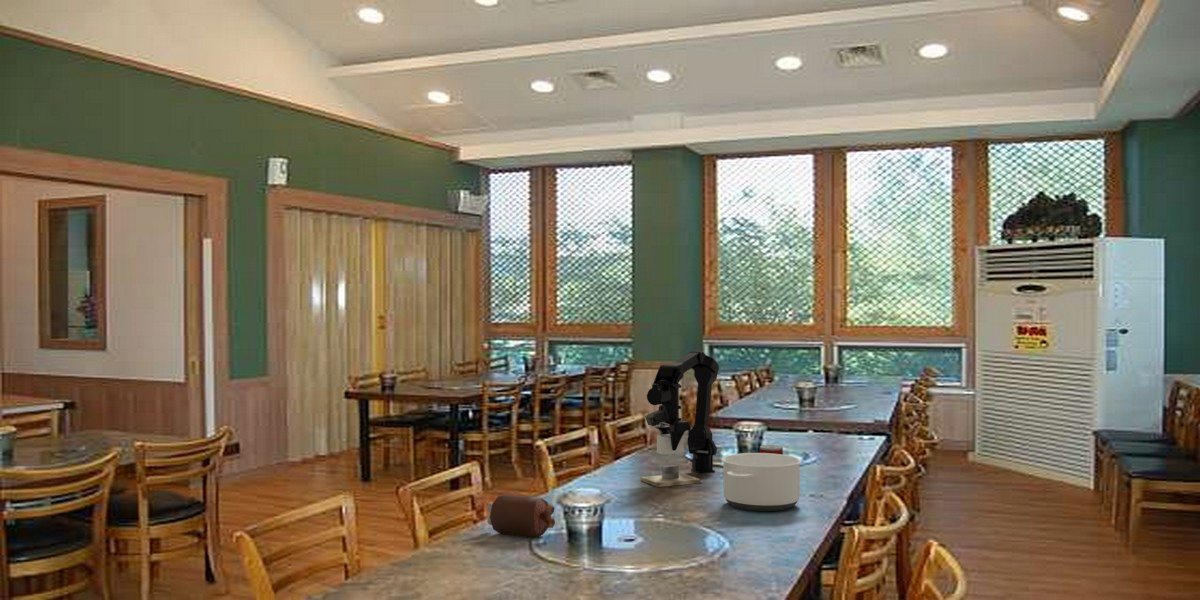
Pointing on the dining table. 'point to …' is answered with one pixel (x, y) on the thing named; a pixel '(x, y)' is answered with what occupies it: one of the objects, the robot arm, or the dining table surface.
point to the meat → (520, 515)
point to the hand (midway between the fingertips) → (670, 449)
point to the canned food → (771, 449)
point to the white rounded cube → (668, 445)
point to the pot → (761, 481)
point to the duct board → (671, 481)
